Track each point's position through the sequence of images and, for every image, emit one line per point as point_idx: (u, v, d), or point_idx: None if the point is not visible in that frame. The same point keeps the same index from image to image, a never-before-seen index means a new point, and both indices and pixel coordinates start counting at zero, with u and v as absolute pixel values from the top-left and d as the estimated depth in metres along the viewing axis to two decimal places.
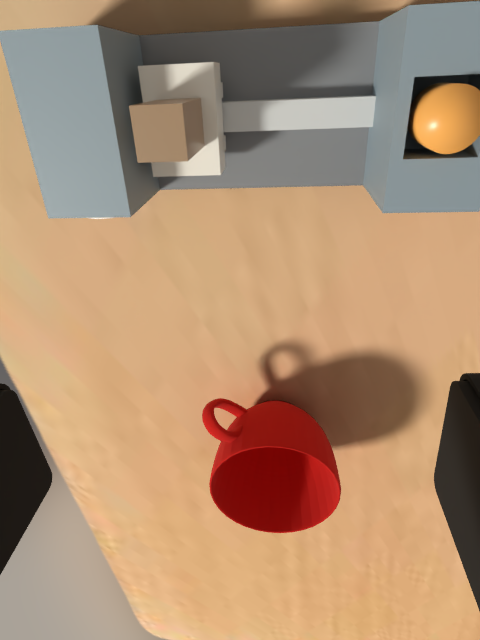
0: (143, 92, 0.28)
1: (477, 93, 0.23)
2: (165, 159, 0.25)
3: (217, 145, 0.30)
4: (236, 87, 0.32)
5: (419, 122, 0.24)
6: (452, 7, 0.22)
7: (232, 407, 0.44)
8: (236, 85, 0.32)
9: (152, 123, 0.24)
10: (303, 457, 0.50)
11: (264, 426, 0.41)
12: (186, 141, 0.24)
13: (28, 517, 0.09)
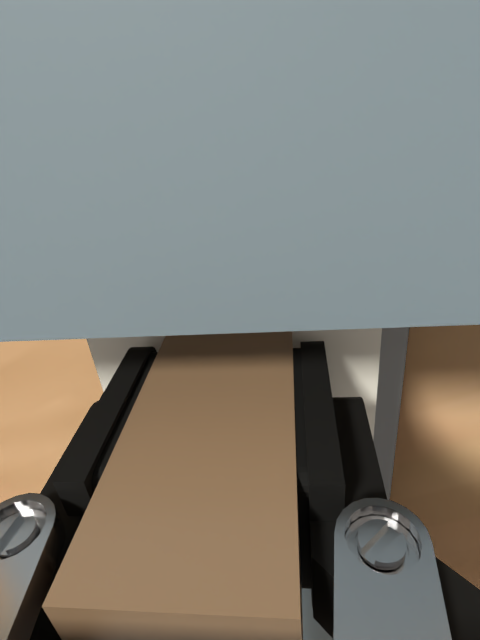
0: None
1: None
2: None
3: None
4: None
5: None
6: None
7: None
8: None
9: None
10: None
11: None
12: None
13: None
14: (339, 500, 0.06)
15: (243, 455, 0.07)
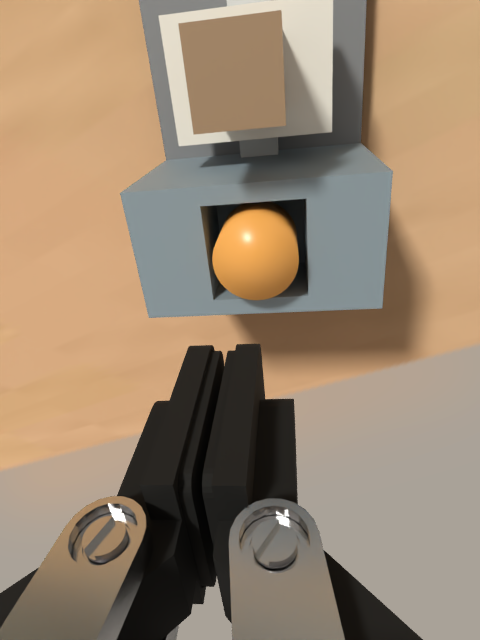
0: (293, 1, 0.17)
1: (287, 282, 0.18)
2: (191, 88, 0.13)
3: (220, 140, 0.19)
4: None
5: (250, 218, 0.17)
6: (383, 227, 0.18)
7: None
8: None
9: (251, 62, 0.13)
10: None
11: None
12: (225, 130, 0.14)
13: None
14: (243, 500, 0.06)
15: None
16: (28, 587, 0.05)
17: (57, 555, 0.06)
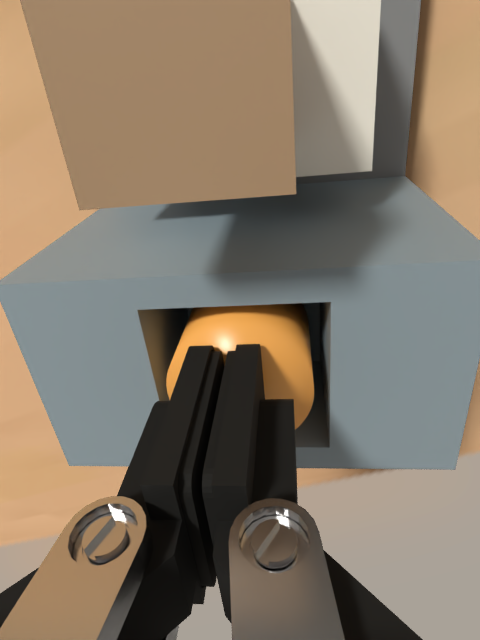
0: None
1: None
2: (59, 104, 0.05)
3: None
4: None
5: (229, 326, 0.10)
6: (470, 352, 0.10)
7: None
8: None
9: (205, 35, 0.05)
10: None
11: None
12: (155, 201, 0.06)
13: None
14: (242, 500, 0.06)
15: None
16: (28, 587, 0.05)
17: (57, 555, 0.06)
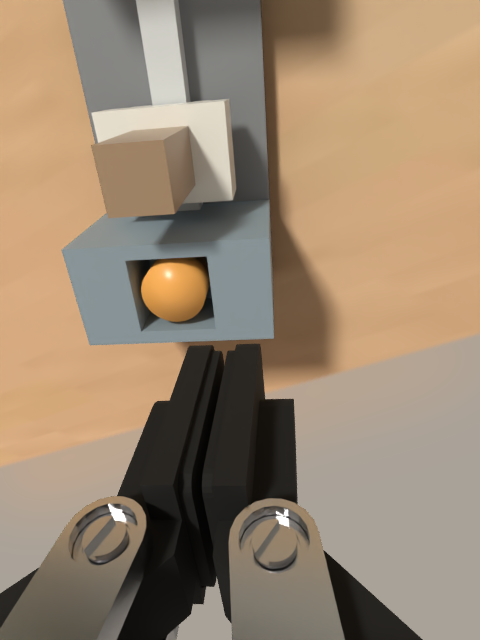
0: (194, 106, 0.22)
1: (198, 308, 0.24)
2: (104, 187, 0.18)
3: None
4: (197, 23, 0.24)
5: (167, 262, 0.23)
6: (267, 278, 0.23)
7: None
8: (199, 23, 0.24)
9: (145, 171, 0.18)
10: None
11: None
12: None
13: None
14: (242, 500, 0.06)
15: (156, 134, 0.19)
16: (28, 587, 0.05)
17: (57, 555, 0.06)
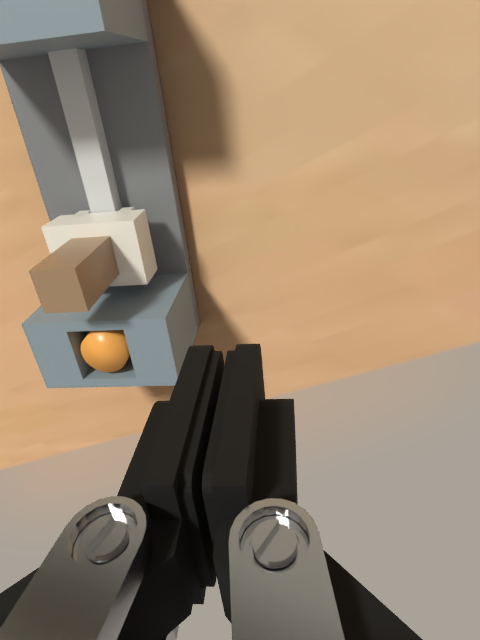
0: (113, 223, 0.30)
1: (122, 363, 0.33)
2: (39, 295, 0.27)
3: None
4: (121, 155, 0.33)
5: (97, 332, 0.32)
6: (168, 344, 0.31)
7: None
8: (122, 154, 0.33)
9: (65, 286, 0.26)
10: None
11: None
12: None
13: None
14: (242, 501, 0.06)
15: (77, 255, 0.28)
16: (28, 587, 0.05)
17: (57, 555, 0.06)
